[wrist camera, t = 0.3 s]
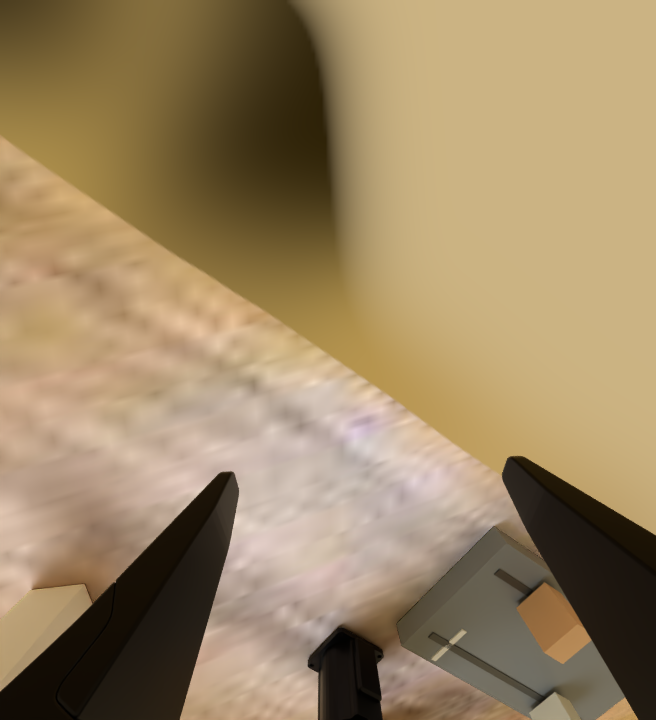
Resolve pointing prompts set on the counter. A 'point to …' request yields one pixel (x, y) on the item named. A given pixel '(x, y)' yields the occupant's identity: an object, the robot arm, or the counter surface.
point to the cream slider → (554, 709)
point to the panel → (502, 633)
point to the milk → (37, 625)
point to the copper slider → (553, 623)
